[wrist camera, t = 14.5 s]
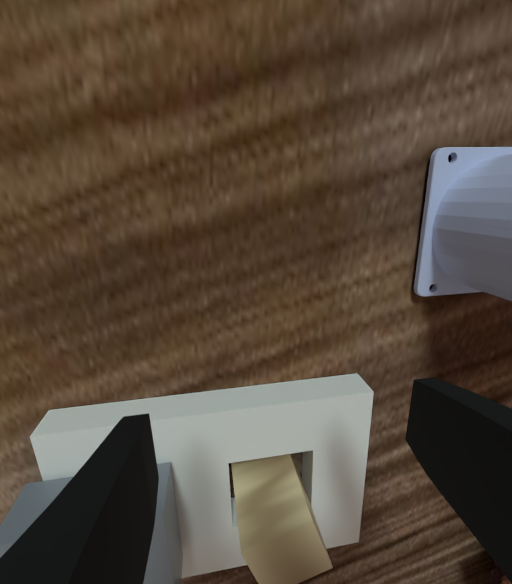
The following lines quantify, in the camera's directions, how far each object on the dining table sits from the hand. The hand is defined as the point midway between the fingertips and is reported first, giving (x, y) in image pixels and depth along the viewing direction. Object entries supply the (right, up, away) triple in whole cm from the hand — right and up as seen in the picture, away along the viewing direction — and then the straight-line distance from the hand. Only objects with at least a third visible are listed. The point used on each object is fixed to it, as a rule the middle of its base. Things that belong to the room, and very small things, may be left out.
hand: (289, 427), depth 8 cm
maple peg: (0, -8, +12) cm, 14 cm away
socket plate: (-3, -8, +12) cm, 15 cm away
